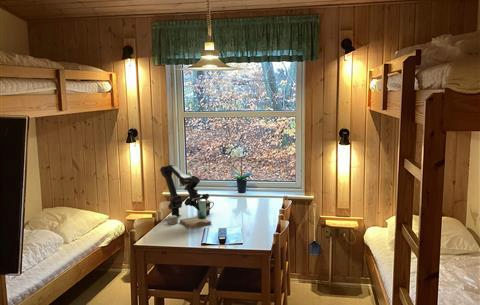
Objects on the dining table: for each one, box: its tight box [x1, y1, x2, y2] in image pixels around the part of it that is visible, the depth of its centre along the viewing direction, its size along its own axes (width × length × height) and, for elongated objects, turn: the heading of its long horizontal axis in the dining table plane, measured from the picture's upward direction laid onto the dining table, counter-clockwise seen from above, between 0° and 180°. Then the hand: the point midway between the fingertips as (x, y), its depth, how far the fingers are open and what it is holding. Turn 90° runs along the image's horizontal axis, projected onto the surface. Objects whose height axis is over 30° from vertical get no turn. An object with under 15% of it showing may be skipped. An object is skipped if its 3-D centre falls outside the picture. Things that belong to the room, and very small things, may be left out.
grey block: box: [167, 214, 178, 225], centre depth 320 cm, size 5×5×5 cm
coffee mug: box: [206, 199, 215, 216], centre depth 340 cm, size 12×9×10 cm
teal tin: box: [196, 199, 207, 219], centre depth 314 cm, size 6×6×13 cm
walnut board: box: [179, 215, 212, 229], centre depth 318 cm, size 18×16×2 cm
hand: (202, 209), depth 313 cm, fingers closed on teal tin, 6 cm apart
